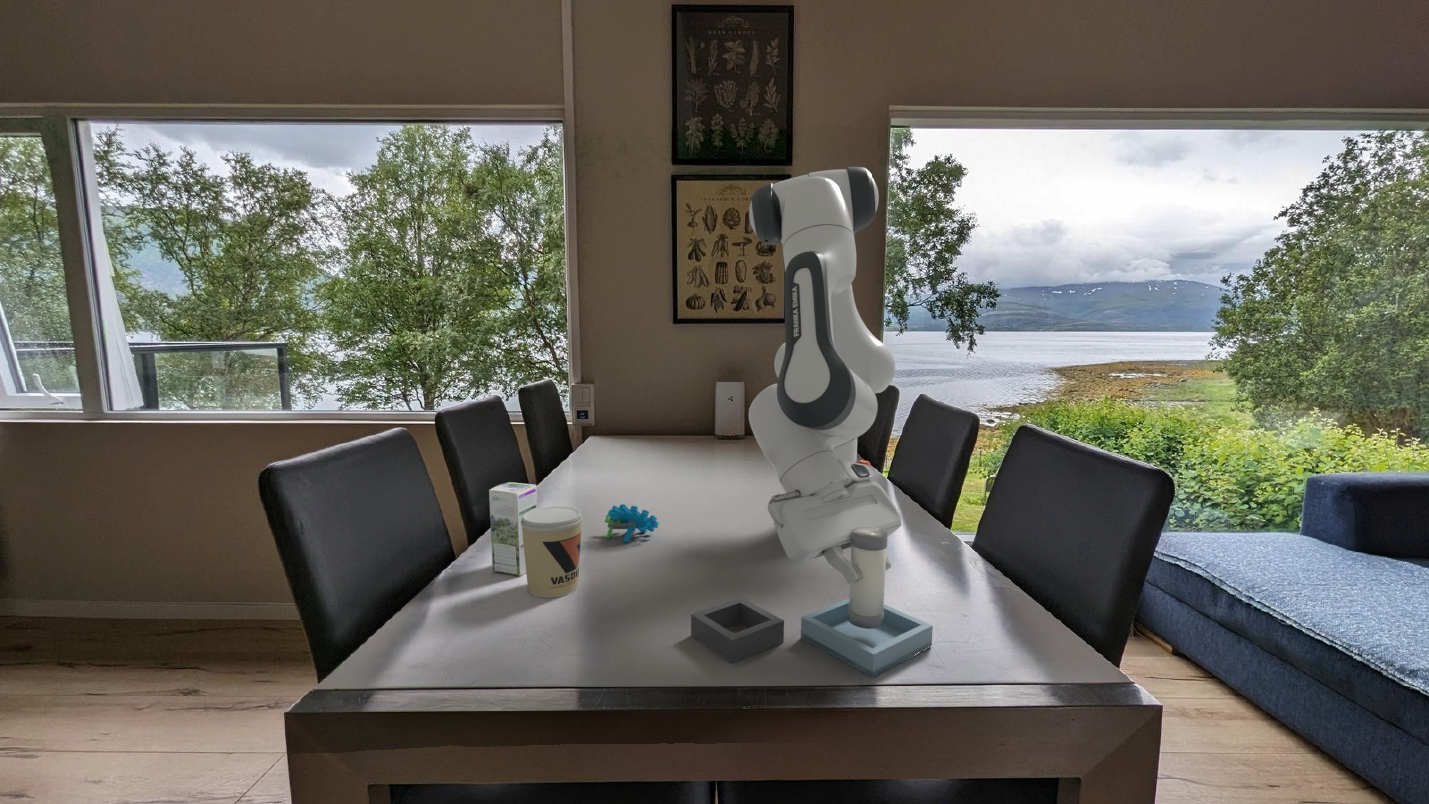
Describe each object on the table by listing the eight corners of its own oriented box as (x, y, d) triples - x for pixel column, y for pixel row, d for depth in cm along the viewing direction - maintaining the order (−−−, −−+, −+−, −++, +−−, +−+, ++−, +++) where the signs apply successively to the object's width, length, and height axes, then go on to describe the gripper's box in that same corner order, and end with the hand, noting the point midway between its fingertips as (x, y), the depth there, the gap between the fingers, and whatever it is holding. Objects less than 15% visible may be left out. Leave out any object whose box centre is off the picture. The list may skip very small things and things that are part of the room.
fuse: (862, 609, 86) (866, 524, 85) (890, 622, 82) (895, 533, 81) (840, 618, 83) (843, 530, 82) (868, 632, 80) (872, 540, 78)
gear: (667, 526, 125) (645, 501, 118) (660, 554, 122) (636, 529, 115) (621, 526, 130) (596, 501, 123) (612, 552, 126) (586, 529, 119)
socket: (741, 617, 90) (741, 597, 90) (783, 642, 83) (784, 620, 83) (691, 635, 85) (691, 614, 85) (732, 663, 78) (732, 640, 78)
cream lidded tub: (552, 605, 94) (550, 527, 92) (509, 591, 98) (507, 516, 97) (595, 584, 101) (594, 511, 100) (554, 571, 106) (552, 502, 105)
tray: (859, 613, 92) (859, 594, 91) (931, 647, 82) (932, 625, 82) (800, 638, 84) (801, 616, 84) (872, 678, 75) (873, 654, 75)
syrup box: (540, 564, 109) (538, 483, 107) (519, 577, 104) (516, 491, 102) (512, 560, 111) (510, 480, 109) (490, 572, 105) (487, 488, 104)
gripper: (774, 484, 80) (830, 583, 73) (877, 464, 92) (932, 548, 86) (751, 510, 84) (801, 606, 77) (852, 488, 96) (903, 569, 90)
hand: (871, 575), depth 82 cm, fingers closed on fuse, 4 cm apart
